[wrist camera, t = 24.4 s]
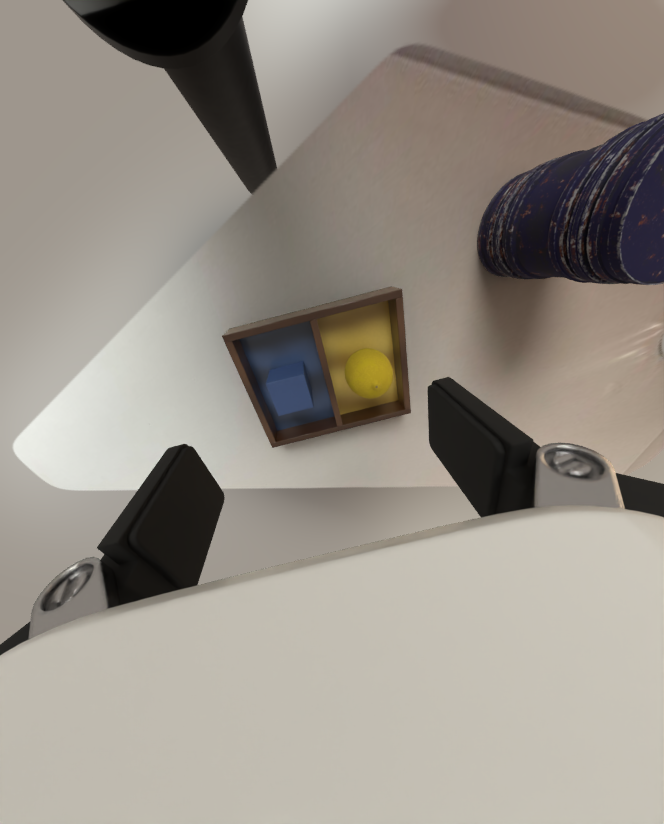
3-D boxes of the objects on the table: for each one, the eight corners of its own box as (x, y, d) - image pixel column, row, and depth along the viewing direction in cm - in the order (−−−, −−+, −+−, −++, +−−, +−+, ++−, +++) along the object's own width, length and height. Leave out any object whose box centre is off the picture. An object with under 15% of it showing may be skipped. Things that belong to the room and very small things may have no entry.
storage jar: (461, 266, 30) (584, 267, 17) (506, 154, 25) (725, 38, 12) (529, 286, 32) (687, 300, 19) (583, 186, 27) (840, 114, 14)
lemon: (356, 332, 31) (372, 351, 24) (389, 355, 33) (413, 378, 26) (332, 368, 33) (340, 395, 26) (364, 387, 35) (380, 417, 28)
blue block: (269, 369, 32) (265, 383, 29) (303, 361, 32) (303, 374, 29) (280, 399, 35) (278, 416, 31) (312, 391, 35) (313, 407, 31)
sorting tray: (229, 328, 30) (221, 335, 27) (391, 286, 30) (402, 288, 27) (274, 433, 38) (272, 447, 35) (401, 401, 38) (410, 413, 35)
